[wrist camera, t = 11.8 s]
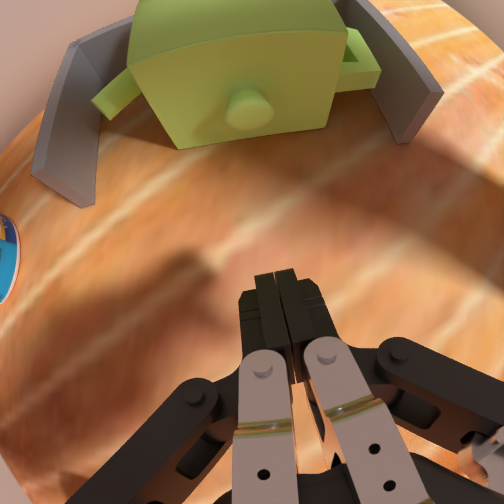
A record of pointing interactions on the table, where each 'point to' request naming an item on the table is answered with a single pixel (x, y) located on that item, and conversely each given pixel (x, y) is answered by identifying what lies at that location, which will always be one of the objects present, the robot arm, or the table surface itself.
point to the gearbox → (238, 67)
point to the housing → (115, 62)
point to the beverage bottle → (8, 257)
